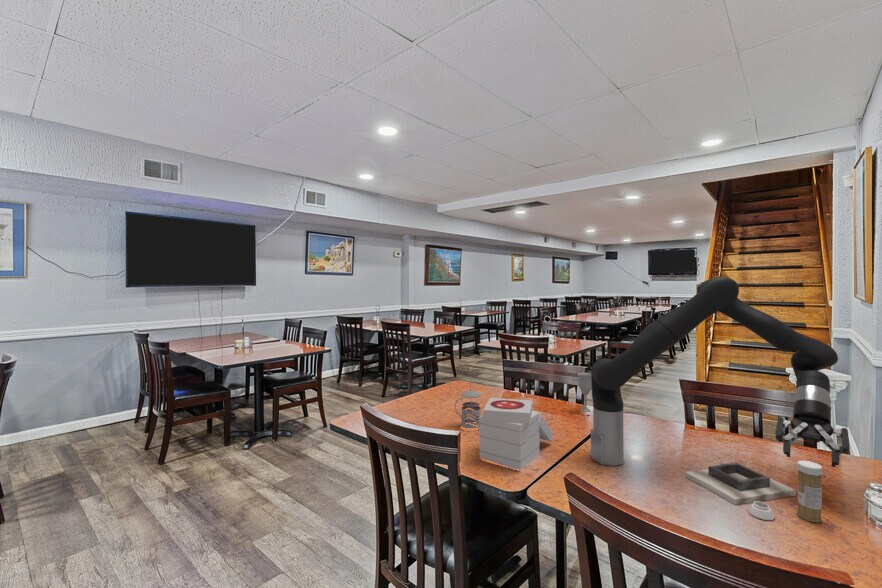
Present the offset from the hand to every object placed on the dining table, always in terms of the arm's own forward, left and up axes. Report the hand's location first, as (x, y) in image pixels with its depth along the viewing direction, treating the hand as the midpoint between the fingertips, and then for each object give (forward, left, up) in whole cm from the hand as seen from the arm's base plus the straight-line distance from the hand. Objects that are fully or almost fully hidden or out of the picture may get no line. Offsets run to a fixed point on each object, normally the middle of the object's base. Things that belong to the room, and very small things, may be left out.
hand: (810, 460), depth 102 cm
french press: (-68, +79, -13) cm, 105 cm away
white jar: (-15, +1, -13) cm, 20 cm away
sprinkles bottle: (-5, -3, -13) cm, 14 cm away
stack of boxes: (-59, +51, -13) cm, 79 cm away
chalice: (-12, +83, -13) cm, 85 cm away
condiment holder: (-7, +14, -12) cm, 20 cm away
